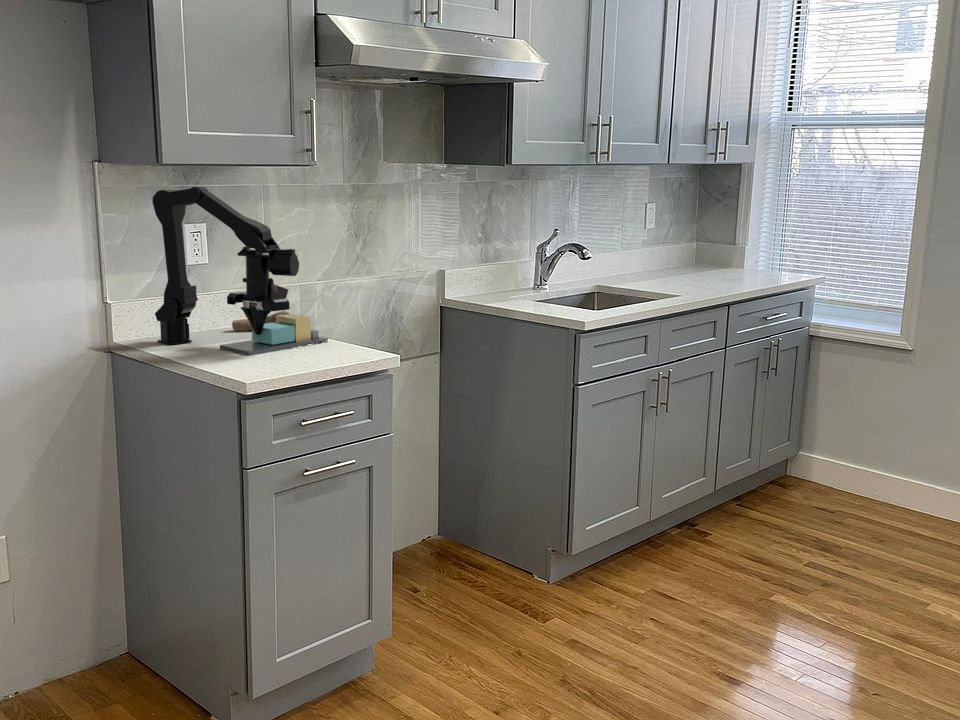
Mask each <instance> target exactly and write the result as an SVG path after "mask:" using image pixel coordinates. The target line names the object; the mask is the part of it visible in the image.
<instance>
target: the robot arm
mask: <svg viewBox="0 0 960 720" xmlns="http://www.w3.org/2000/svg"><path fill="white" fill-rule="evenodd" d="M151 203H152V207H153V209H154V214H155V216H156V218H157V220H158V221H159V223H160V225H161V229H162V237H163V247H164V255H165V256H164V257H165V266H166V267H165V268H166V274H167V283H166V285H165V289H164V292H163V304H162V305H161V306H160V307H159V308H158V309H157V311H155V313H154V316H155V318H156V321H157V322H159V326H160V327H159V328H160V339H157V343H161V344H165V345H169V346H170V345H171V346H173V345H180V344H186V343H192V342H193V340H192V339H190V324H189V323H188V318H190V317H191V313H192V311H193V310H194V309H195V308H196V305H197V301H199V298H198V297H197V296H198V295H197V285H195V284H194V285H191V283H190V282H189V280H188V274H187V268H186V267H187V266H186V255H185V248H184V247H185V246H184V236H183V227H182V224H183V220H184V217H185V215H186V206H191V205H195V204H196V205H198V206H199V207H200V208H201V209H203V210H204V211H206V212H207V213H209V214H210V215H212V216H213V217H214V218H216V219H217V220H218V221H220V222H222V224H224V225H225V226H226V227H228V228H229V229H231V230H232V232H233V233H234V235H235V236H236V237H237V239H238V240H239V241H240V242H241V243H243V245H244V246H243V247H242V249H240V251H239V252H237V256H239V257H245V277H242V283H245V289H246V291H237V292H230V293H229V294H228V295H227V296H226V304H227V305H233V306H234V305H237V304H241V303H242V306H241V307H240V310H241V311H243V313H244V315H245V317H246V319H248V320H249V322H250V324H251V326H252V328H253V330H254V332H255V334H256V335H261V333H262V330H263V327H264V324H265V321H266V318H267V316H269V314H271V312H281V311H289V310H290V301H289V300H288V298H287V296H288V293H289V289H288V288H287V287H282V286H280V285H277V284H275V283H274V279H273V277H270V273H271V274H272V275H273V276H285V277H296V276H297V275H298V273H299V269H300V260H299V259H298V258H299V257H298V255H297V254H296V249H295V248H289V249H288V248H287V249H283V248H282V249H281V248H280V246H279V244H278V243H277V241H276V240H275V239H274V237H273V234H272V230H271V229H270V227H269V226H267V224H264V223H262V222H259V221H258V220H255V219H253V218H249V217H247V216H244V215H243V214H242V213H240V212H238V211H237V209H234V208H233V207H232V206H231V205H228V204H227V203H226V202H225V201H223V200H222V199H220V198H219V197H218V196H216V195H215V194H214V193H212V192H210V190H209V189H208V188H206V187H205V186H191V187H190V188H186V189H185V188H184V189H180V190H179V189H160V190H158V191H156V192H155V194H154V195H153V196H152V201H151Z"/></svg>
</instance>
